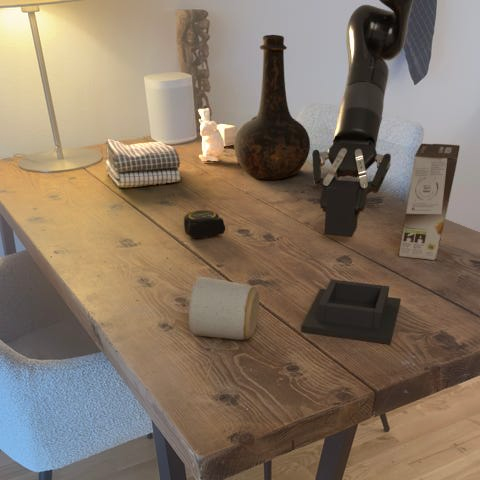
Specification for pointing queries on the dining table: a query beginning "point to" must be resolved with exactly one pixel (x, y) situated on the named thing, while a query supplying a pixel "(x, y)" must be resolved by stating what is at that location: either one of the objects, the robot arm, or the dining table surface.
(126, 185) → the towel
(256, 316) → the off-white cylinder
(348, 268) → the dining table surface
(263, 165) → the glass bottle
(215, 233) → the tape measure
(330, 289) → the base pad
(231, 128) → the small box
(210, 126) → the white upright figurine
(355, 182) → the dark grey rectangular block
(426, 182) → the coffee box
